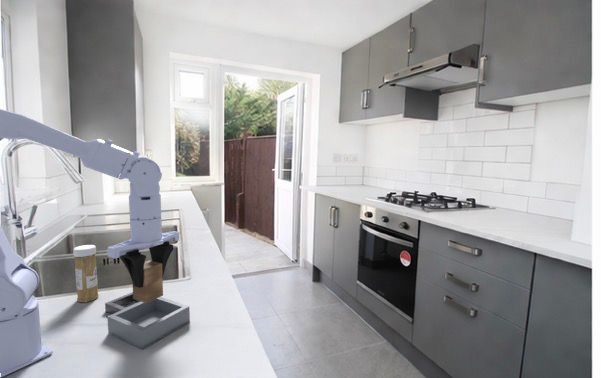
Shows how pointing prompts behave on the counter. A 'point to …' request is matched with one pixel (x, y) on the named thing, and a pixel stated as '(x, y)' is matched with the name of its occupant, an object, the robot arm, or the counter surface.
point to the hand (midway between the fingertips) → (148, 282)
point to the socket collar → (119, 303)
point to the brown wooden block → (150, 283)
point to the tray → (148, 321)
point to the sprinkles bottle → (86, 273)
